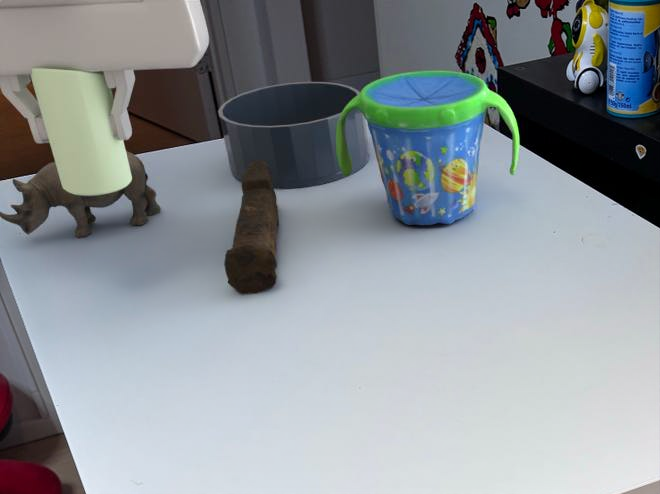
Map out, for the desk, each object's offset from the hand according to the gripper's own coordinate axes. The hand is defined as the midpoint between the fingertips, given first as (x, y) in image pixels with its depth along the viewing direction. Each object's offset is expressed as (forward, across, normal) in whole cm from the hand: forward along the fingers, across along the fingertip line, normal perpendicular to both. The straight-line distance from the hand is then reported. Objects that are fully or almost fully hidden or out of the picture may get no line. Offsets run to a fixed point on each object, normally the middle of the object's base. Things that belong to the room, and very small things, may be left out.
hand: (84, 139), depth 73 cm
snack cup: (+12, -24, -14) cm, 30 cm away
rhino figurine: (+12, +8, -15) cm, 21 cm away
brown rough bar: (+12, -9, -9) cm, 17 cm away
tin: (+12, -10, -29) cm, 33 cm away
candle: (+3, 0, 0) cm, 3 cm away
